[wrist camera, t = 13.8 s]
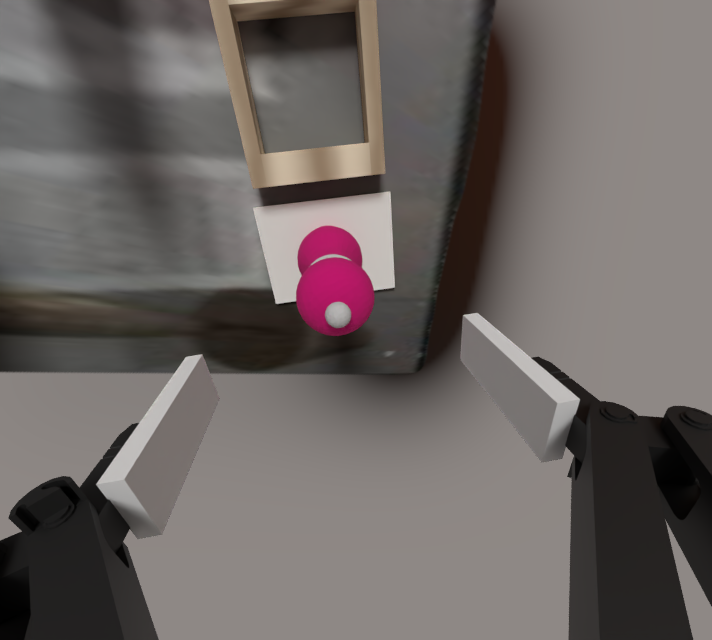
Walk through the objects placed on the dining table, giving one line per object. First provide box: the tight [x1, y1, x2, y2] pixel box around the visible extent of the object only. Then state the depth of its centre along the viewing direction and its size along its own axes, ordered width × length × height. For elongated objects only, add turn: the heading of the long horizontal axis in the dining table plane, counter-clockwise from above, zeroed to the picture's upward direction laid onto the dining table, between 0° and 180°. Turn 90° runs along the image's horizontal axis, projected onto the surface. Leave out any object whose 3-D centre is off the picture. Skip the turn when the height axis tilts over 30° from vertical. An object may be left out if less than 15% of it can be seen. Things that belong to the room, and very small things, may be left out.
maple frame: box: [209, 0, 385, 189], centre depth 29 cm, size 14×17×3 cm
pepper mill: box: [296, 225, 374, 336], centre depth 28 cm, size 7×7×20 cm
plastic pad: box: [253, 191, 395, 304], centre depth 37 cm, size 16×12×1 cm
